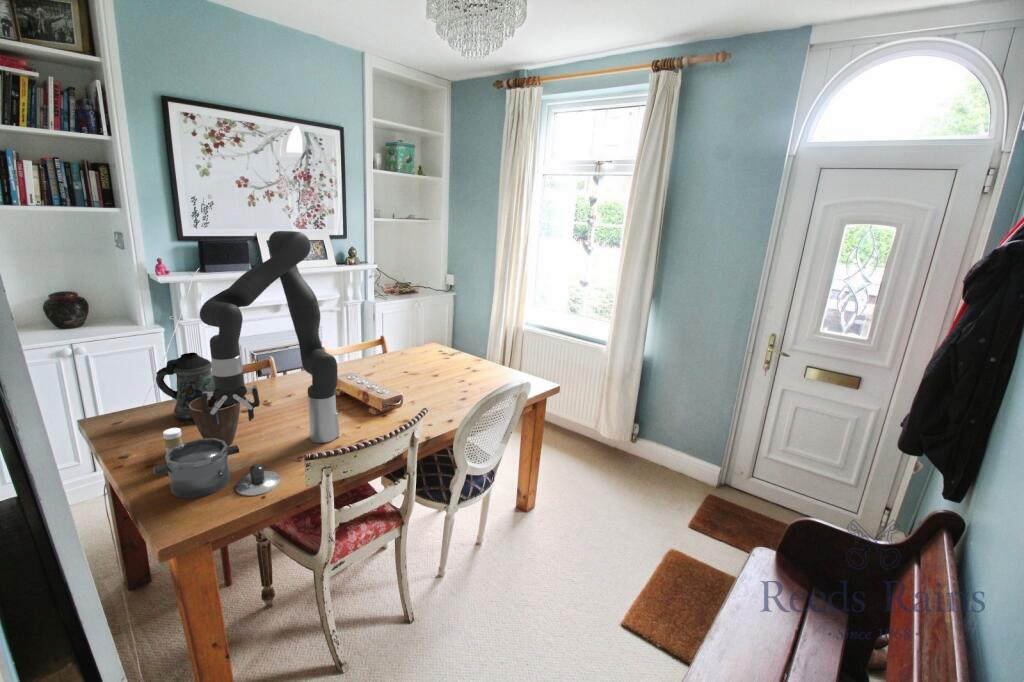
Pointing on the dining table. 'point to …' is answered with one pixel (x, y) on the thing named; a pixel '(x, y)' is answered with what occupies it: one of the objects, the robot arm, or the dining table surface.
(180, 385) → the beer stein
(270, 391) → the dining table surface
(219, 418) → the plant pot
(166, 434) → the sprinkles bottle
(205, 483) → the pot
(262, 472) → the lid
